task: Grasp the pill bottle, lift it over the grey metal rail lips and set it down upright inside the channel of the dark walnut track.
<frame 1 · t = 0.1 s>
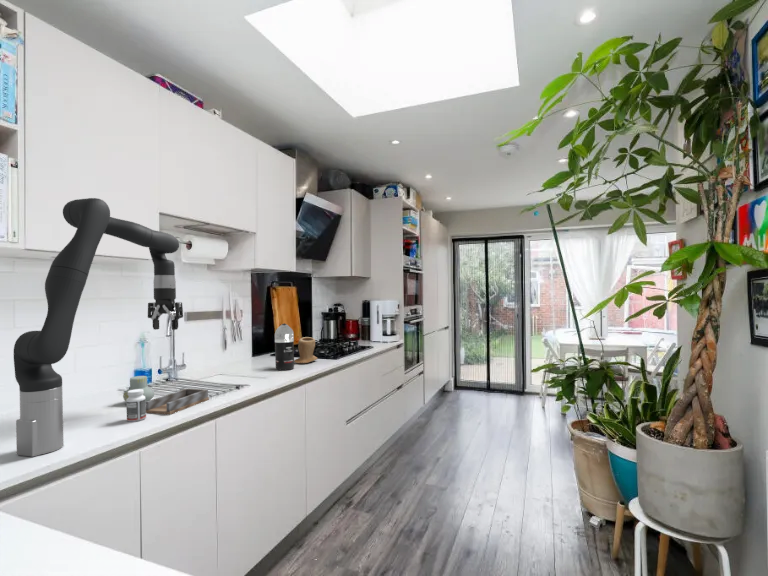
hand: (165, 329, 159), 29 cm above the counter, fingers open, 8 cm apart
stone cup: (307, 362, 246), on the counter
pill bottle: (136, 420, 142), on the counter
black labeled bottle: (284, 369, 227), on the counter
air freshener: (139, 402, 164), on the counter
track: (178, 405, 157), on the counter
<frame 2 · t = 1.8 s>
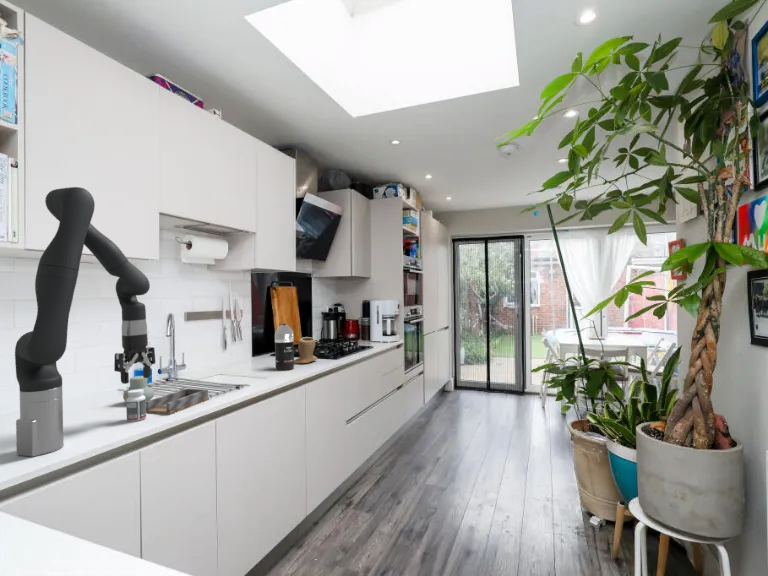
hand: (136, 380, 142), 13 cm above the counter, fingers open, 8 cm apart
nothing on the counter moved.
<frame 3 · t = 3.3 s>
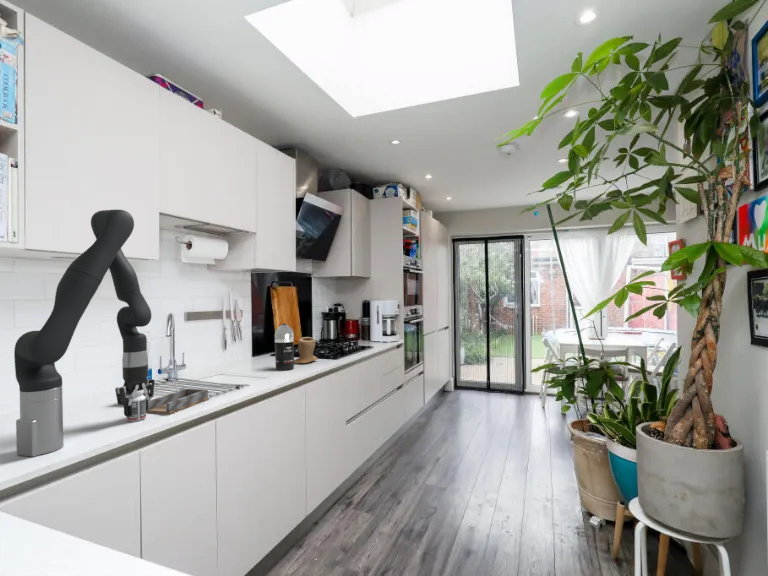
hand: (136, 413, 142), 2 cm above the counter, fingers closed on pill bottle, 5 cm apart
pill bottle: (136, 420, 142), on the counter, touching gripper
everything else where it was.
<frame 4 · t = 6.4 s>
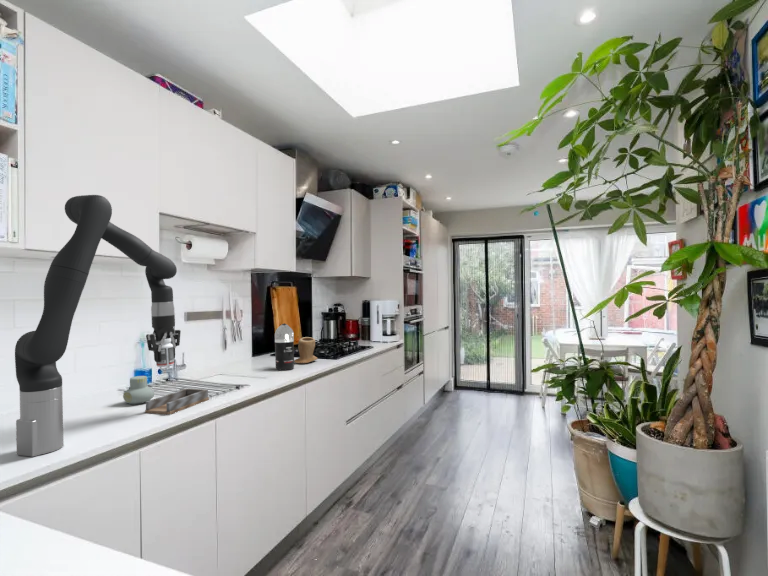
hand: (165, 359, 152), 18 cm above the counter, fingers closed on pill bottle, 5 cm apart
pill bottle: (165, 366, 152), point 16 cm above the counter, touching gripper
everything else where it was.
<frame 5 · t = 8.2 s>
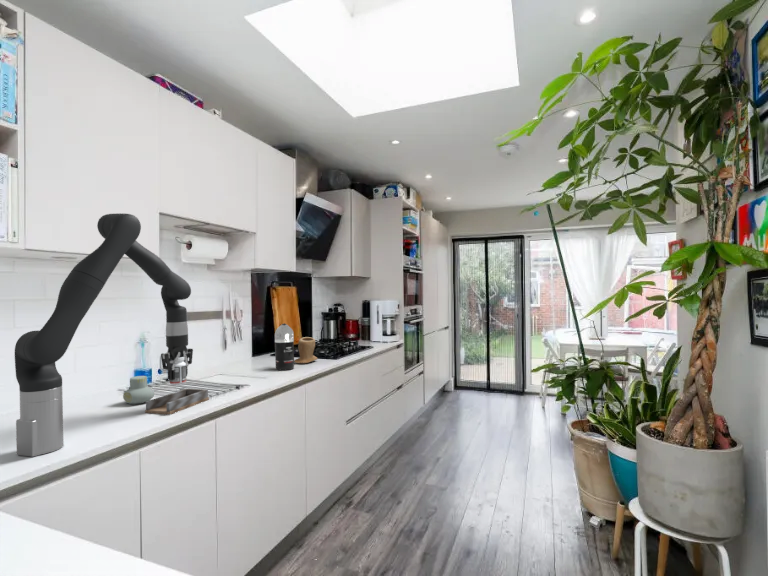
hand: (178, 377, 157), 11 cm above the counter, fingers closed on pill bottle, 5 cm apart
pill bottle: (178, 383, 157), point 8 cm above the counter, touching gripper
everything else where it was.
when the fingers open (5 cm above the counter, at t = 9.8 s): pill bottle drops 2 cm, resting on track.
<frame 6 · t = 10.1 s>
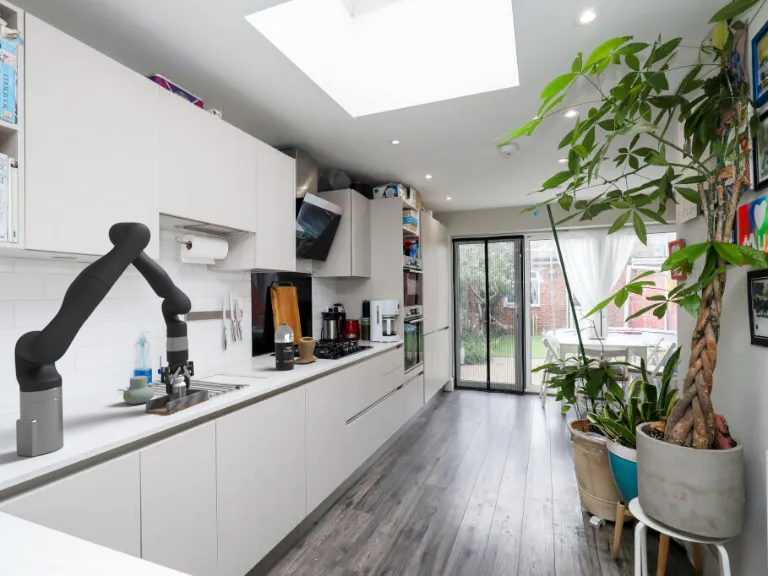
hand: (178, 391, 157), 6 cm above the counter, fingers open, 8 cm apart
pill bottle: (177, 404, 157), point 1 cm above the counter, touching track
everything else where it was.
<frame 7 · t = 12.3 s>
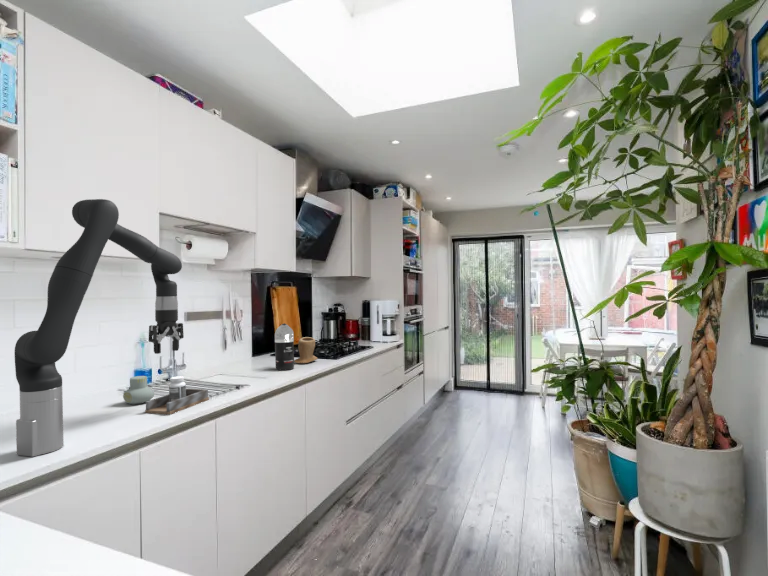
hand: (166, 352, 155), 21 cm above the counter, fingers open, 8 cm apart
nothing on the counter moved.
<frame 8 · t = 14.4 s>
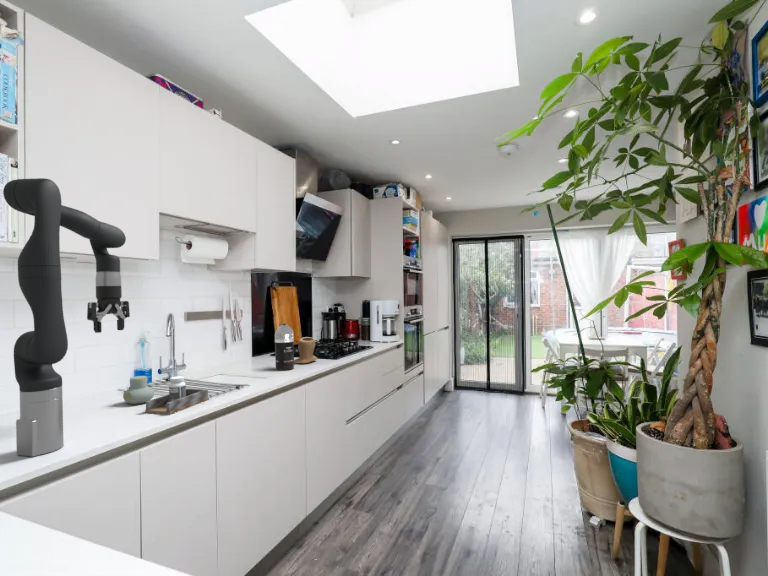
hand: (109, 331, 145), 30 cm above the counter, fingers open, 8 cm apart
nothing on the counter moved.
at the end: pill bottle inside the target area on the track (0.4 cm from its centre), point 0.8 cm above the track's base; pill bottle tilted 0°; the gripper is holding nothing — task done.
